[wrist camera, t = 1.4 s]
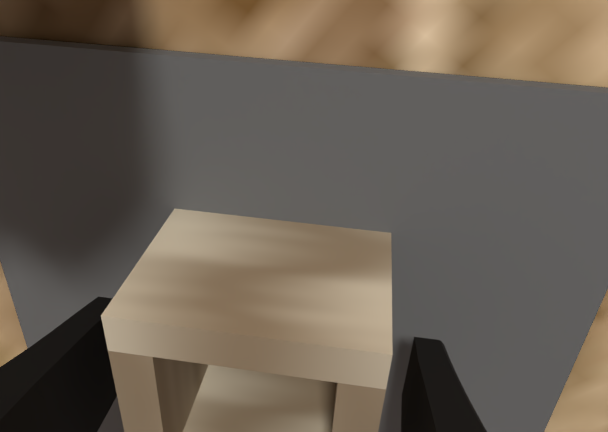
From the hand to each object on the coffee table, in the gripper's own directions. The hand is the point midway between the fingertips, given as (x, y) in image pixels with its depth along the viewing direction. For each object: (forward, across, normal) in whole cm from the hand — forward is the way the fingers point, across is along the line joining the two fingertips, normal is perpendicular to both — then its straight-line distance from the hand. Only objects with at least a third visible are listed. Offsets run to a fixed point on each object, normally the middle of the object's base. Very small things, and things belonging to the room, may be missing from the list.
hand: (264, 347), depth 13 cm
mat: (+2, 0, +6) cm, 7 cm away
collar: (+2, 0, 0) cm, 2 cm away
